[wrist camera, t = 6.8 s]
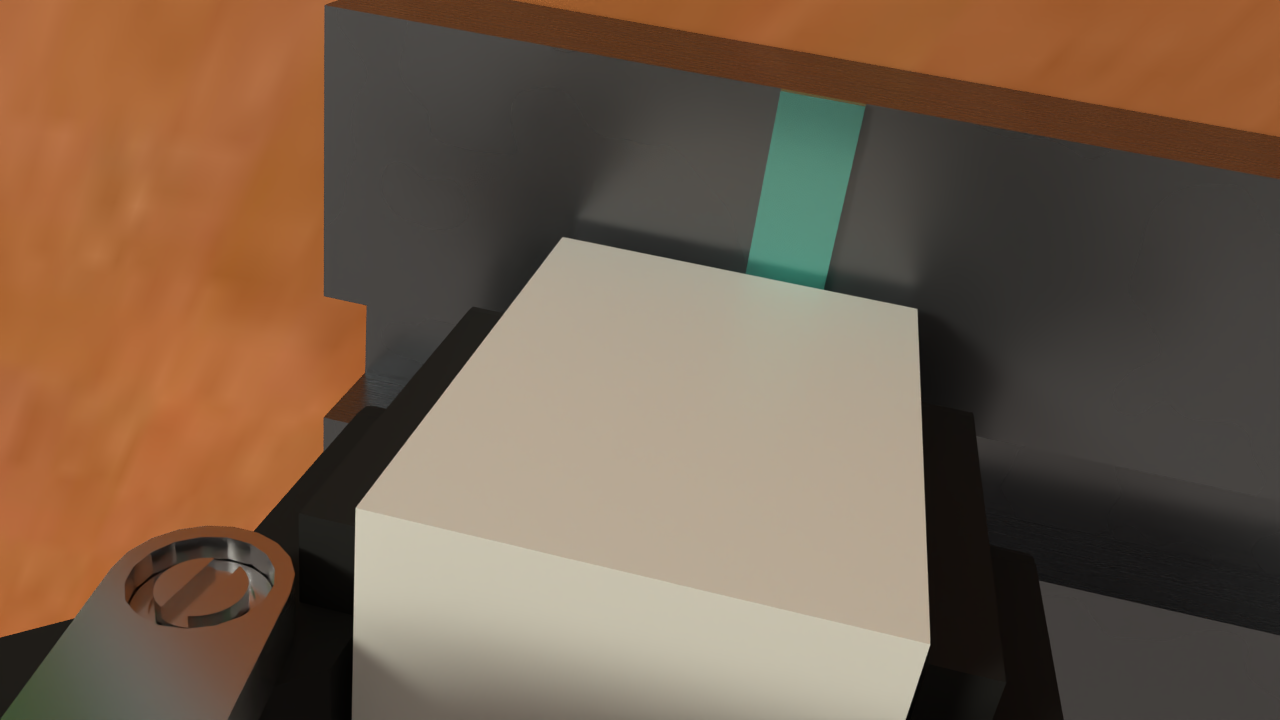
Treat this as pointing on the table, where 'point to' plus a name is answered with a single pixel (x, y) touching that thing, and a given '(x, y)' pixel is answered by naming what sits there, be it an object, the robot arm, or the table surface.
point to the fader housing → (876, 282)
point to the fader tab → (655, 509)
